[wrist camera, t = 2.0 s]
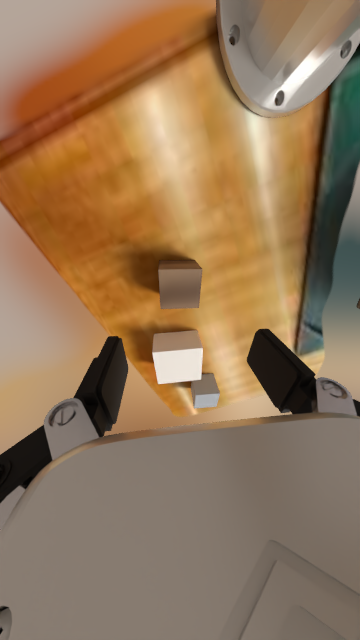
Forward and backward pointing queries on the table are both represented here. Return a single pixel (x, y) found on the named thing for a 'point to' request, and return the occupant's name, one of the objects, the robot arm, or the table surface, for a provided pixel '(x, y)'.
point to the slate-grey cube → (205, 391)
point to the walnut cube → (179, 283)
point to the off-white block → (177, 356)
